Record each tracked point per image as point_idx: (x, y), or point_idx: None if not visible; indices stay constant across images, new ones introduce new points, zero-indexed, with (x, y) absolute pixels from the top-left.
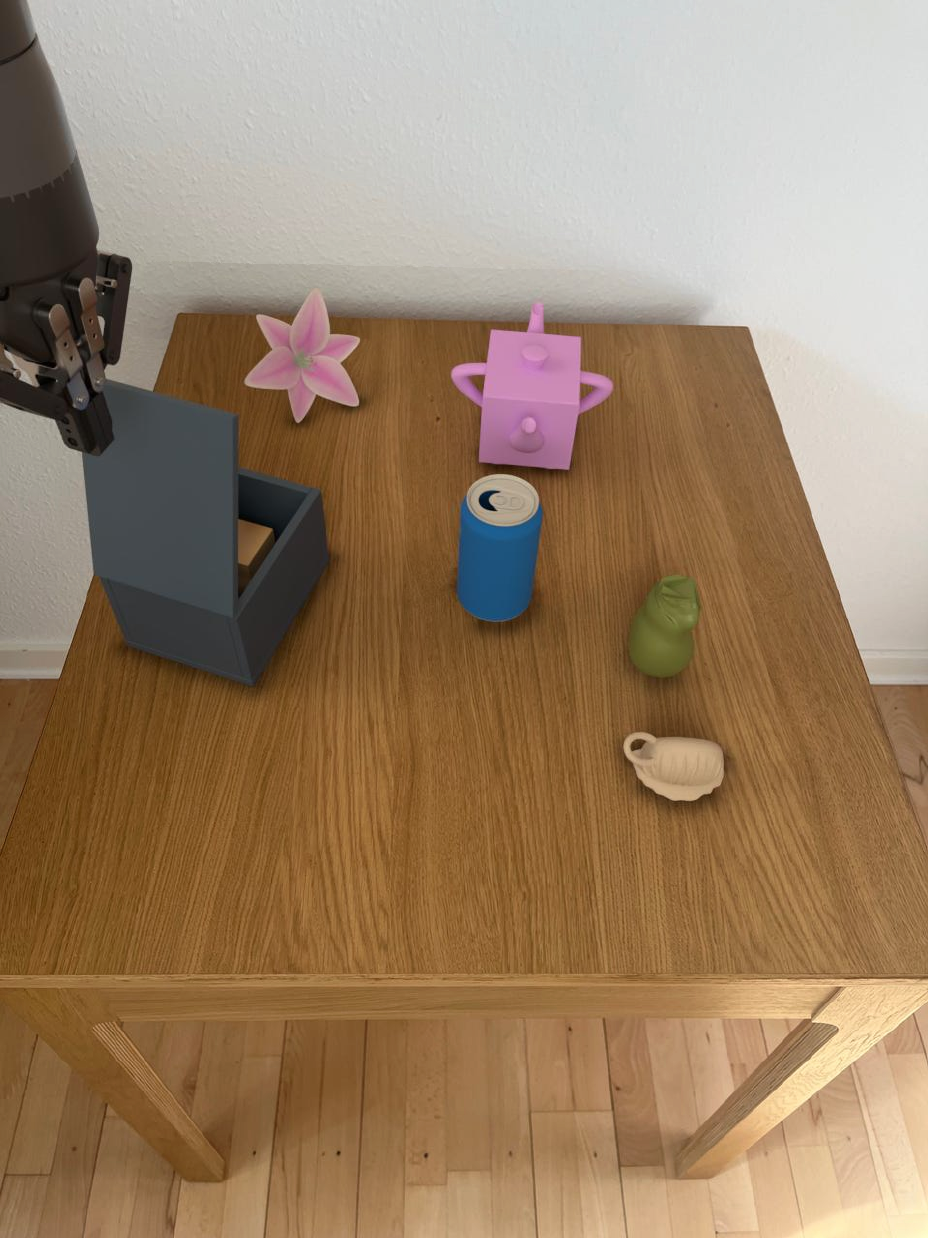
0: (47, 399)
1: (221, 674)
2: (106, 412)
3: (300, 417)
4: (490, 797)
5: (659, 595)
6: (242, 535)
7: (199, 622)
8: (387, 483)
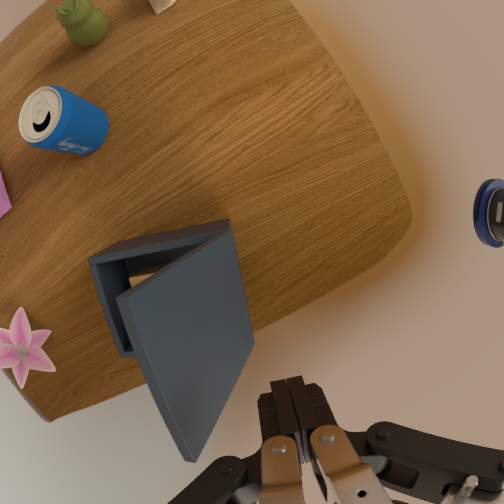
0: (410, 447)
1: None
2: (264, 412)
3: (47, 331)
4: (221, 54)
5: (74, 11)
6: None
7: None
8: (49, 251)
